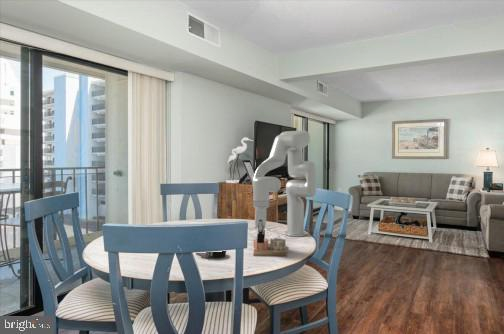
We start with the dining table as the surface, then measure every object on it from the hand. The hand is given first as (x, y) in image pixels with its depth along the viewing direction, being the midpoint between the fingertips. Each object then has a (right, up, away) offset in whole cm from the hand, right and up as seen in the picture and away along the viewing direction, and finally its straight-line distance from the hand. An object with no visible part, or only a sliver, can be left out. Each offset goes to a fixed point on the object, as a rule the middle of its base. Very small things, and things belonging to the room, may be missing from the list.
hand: (261, 240), depth 164 cm
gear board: (+4, -5, 0) cm, 7 cm away
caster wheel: (-22, -6, -9) cm, 24 cm away
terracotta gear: (0, -4, 0) cm, 4 cm away
